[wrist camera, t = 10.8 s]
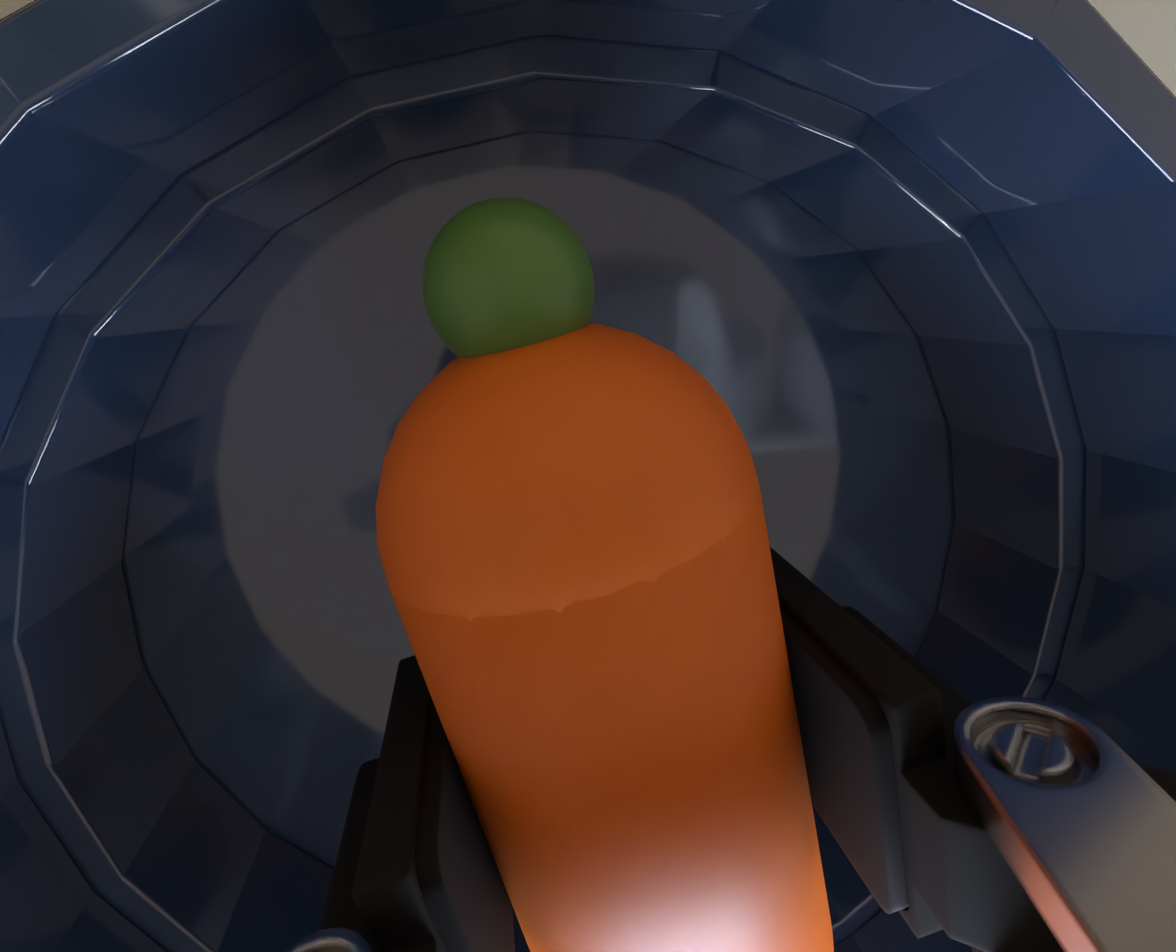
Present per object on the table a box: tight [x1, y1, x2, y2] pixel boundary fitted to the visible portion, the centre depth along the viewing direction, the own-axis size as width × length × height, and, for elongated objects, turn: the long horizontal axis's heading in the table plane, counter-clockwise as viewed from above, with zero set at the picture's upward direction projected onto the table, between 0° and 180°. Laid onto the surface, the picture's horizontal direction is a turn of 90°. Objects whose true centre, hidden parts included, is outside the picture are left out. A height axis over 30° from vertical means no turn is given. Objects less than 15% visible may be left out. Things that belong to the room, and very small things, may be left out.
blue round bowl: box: [0, 0, 1176, 952], centre depth 11 cm, size 19×19×6 cm
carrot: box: [376, 198, 834, 952], centre depth 8 cm, size 13×4×4 cm, turn 14°
